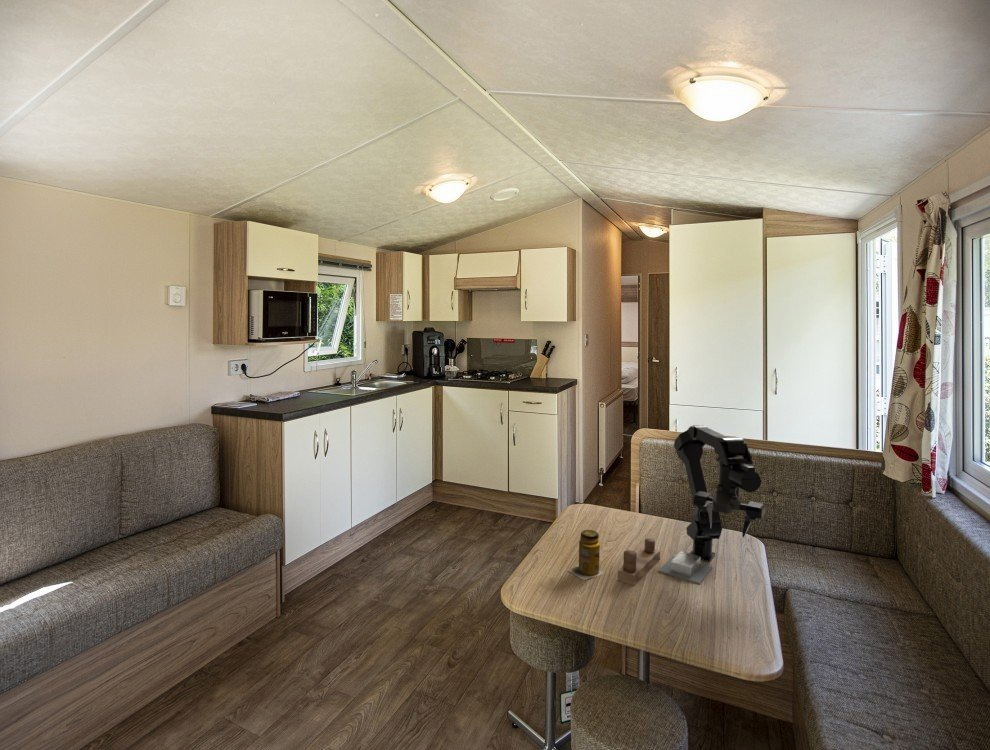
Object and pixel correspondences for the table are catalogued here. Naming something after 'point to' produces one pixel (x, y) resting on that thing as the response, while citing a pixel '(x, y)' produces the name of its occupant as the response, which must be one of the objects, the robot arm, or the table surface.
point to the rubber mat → (696, 577)
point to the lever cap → (685, 564)
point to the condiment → (588, 556)
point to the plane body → (638, 563)
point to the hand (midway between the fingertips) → (726, 532)
